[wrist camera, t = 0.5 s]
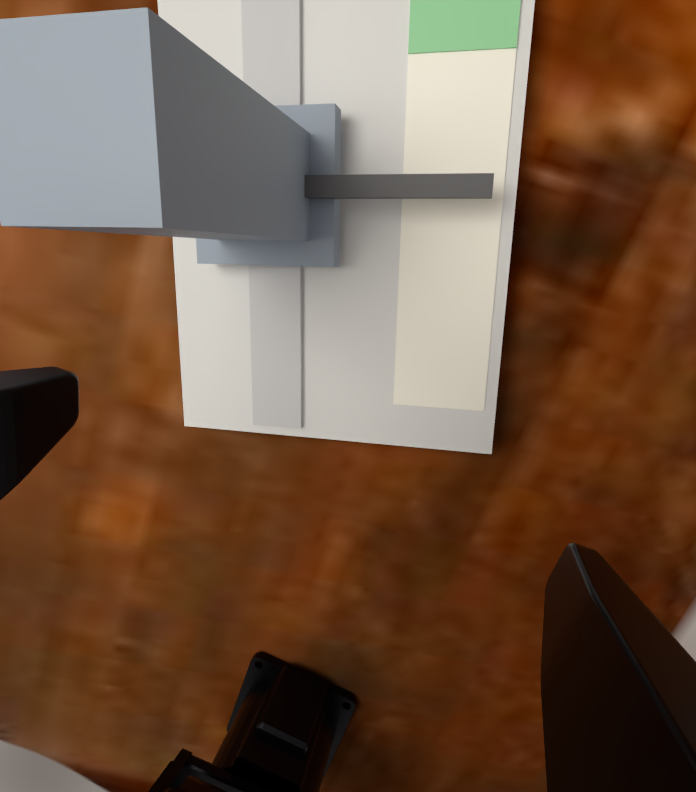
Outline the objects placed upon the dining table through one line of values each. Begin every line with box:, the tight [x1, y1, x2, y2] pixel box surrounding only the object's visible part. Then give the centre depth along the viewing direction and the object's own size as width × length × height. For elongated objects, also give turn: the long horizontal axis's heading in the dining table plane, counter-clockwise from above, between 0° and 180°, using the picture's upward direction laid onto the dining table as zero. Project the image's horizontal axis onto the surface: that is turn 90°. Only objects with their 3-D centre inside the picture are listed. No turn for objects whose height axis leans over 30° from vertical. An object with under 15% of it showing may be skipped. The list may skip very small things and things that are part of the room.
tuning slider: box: [0, 8, 494, 267], centre depth 16 cm, size 6×12×12 cm, turn 89°
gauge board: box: [158, 0, 535, 454], centre depth 23 cm, size 24×15×2 cm, turn 179°
